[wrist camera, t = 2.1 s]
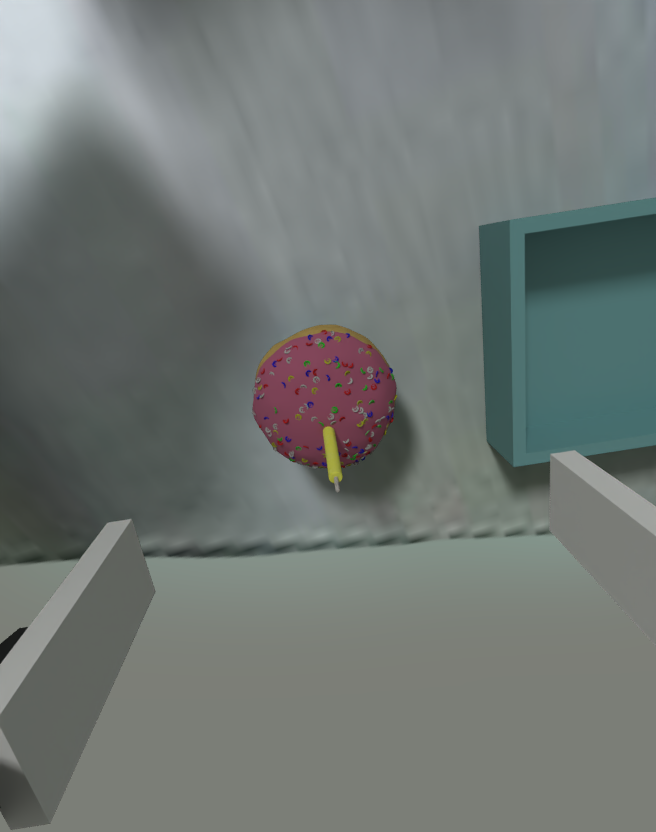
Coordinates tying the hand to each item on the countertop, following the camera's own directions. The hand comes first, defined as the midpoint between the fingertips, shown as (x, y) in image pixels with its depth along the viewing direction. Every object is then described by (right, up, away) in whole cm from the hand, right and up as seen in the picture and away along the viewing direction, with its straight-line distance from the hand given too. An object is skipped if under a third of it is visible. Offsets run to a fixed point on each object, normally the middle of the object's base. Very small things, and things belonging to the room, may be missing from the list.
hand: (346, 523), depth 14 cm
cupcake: (-1, +6, +17) cm, 18 cm away
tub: (+19, +10, +17) cm, 27 cm away
